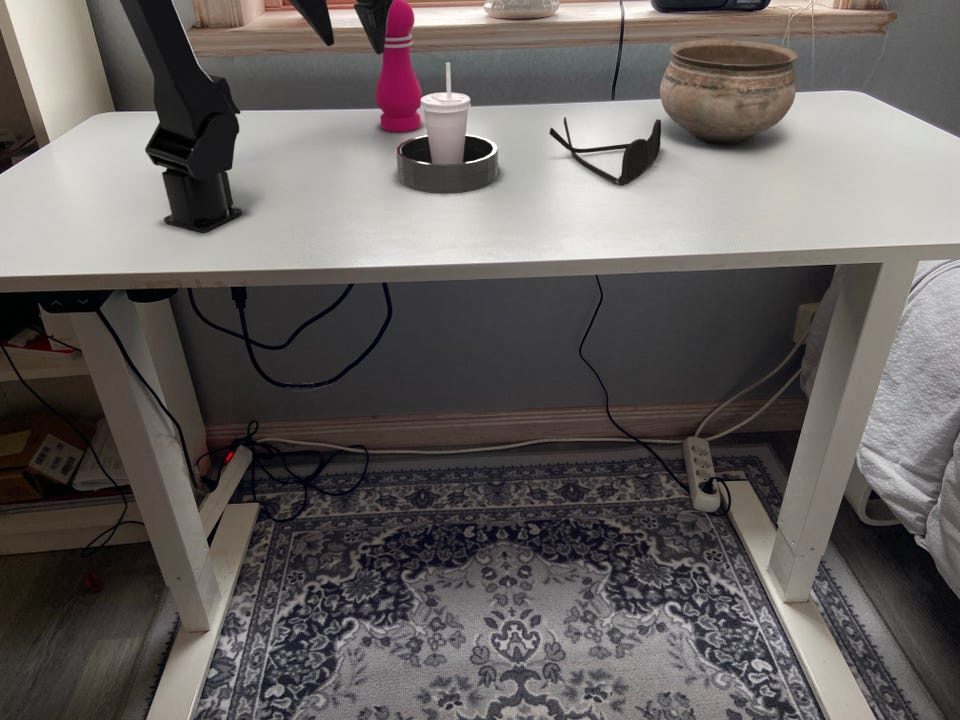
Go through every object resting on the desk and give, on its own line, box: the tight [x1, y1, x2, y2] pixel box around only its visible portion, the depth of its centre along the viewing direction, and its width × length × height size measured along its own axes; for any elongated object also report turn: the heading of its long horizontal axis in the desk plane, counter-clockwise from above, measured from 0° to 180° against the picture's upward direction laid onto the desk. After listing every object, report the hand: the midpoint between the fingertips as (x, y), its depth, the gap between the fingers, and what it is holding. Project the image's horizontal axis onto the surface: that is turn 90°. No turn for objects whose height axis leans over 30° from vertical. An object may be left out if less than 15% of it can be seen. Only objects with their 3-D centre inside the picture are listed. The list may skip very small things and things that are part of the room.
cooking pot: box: [659, 39, 799, 145], centre depth 110 cm, size 25×19×12 cm
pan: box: [395, 133, 499, 194], centre depth 99 cm, size 13×13×4 cm
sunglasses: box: [548, 116, 662, 185], centre depth 103 cm, size 17×14×5 cm
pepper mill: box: [375, 0, 423, 133], centre depth 114 cm, size 7×7×20 cm
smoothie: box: [420, 61, 472, 164], centre depth 96 cm, size 6×6×14 cm
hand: (355, 49), depth 98 cm, fingers open, 9 cm apart
